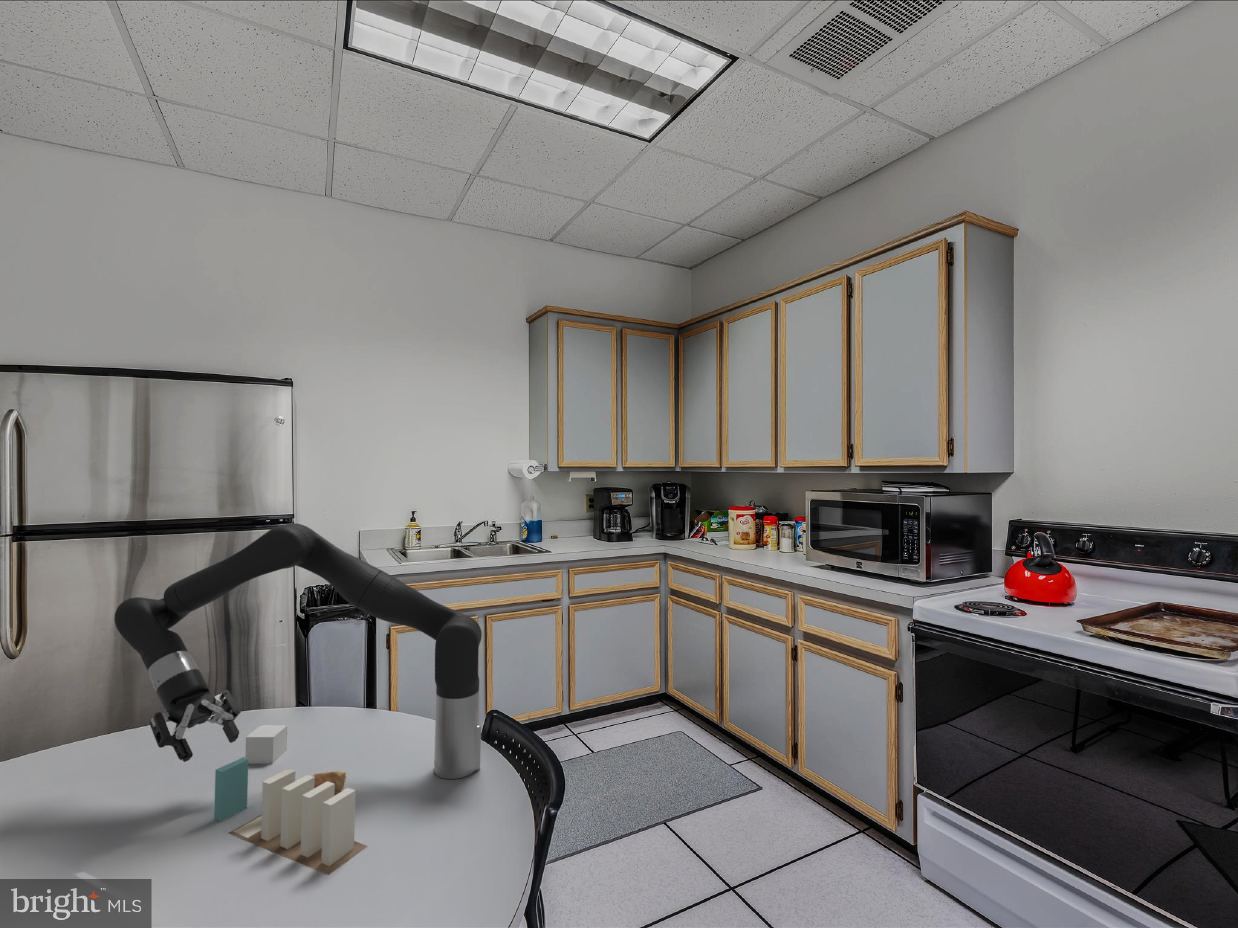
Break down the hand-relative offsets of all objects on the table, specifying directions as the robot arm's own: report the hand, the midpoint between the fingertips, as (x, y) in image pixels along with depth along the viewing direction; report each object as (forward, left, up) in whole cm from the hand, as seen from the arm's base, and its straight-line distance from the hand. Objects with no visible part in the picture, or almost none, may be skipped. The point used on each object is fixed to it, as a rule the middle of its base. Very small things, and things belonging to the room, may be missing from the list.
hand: (212, 748), depth 113 cm
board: (-14, +20, -12) cm, 27 cm away
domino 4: (-19, +28, -11) cm, 36 cm away
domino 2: (-14, +20, -11) cm, 26 cm away
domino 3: (-17, +24, -11) cm, 31 cm away
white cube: (-9, -18, -12) cm, 24 cm away
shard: (-21, +3, -12) cm, 25 cm away
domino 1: (-11, +16, -11) cm, 22 cm away
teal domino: (-3, +5, -12) cm, 13 cm away
